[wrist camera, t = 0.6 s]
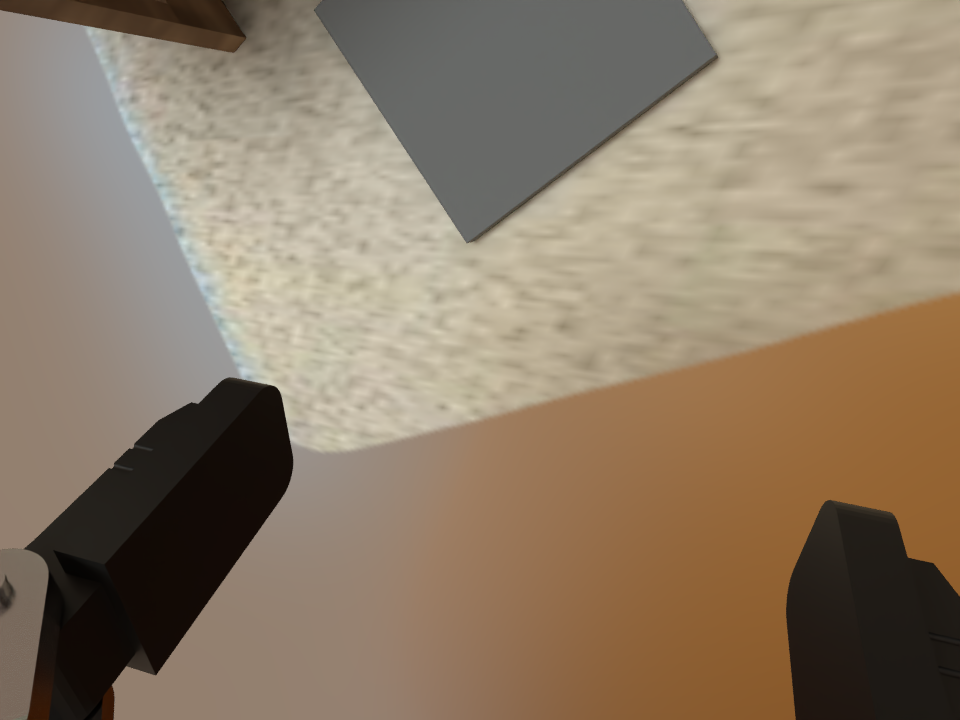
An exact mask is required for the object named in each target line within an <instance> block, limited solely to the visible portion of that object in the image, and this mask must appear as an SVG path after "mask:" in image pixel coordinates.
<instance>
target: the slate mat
mask: <svg viewBox="0 0 960 720" xmlns="http://www.w3.org/2000/svg"><path fill="white" fill-rule="evenodd" d="M314 11H315V13H316V14H317V16H318V17H319V19H320V20H321V22H322V23H323V25H324V26H325V28H326V29H327V31H328V32H329V34H330V35H331V37H332V39H333V40H334V42H335V43H336V45H337V46H338V48H339V49H340V51H341V52H342V54H343V55H344V57H345V58H346V60H347V61H348V63H349V64H350V66H351V67H352V69H353V71H354V72H355V74H356V75H357V77H358V78H359V80H360V81H361V83H362V84H363V86H364V87H365V89H366V90H367V92H368V93H369V95H370V96H371V98H372V100H373V101H374V103H375V104H376V106H377V107H378V109H379V110H380V112H381V113H382V115H383V116H384V118H385V119H386V121H387V122H388V124H389V125H390V127H391V128H392V130H393V132H394V133H395V135H396V136H397V138H398V139H399V141H400V142H401V144H402V145H403V147H404V148H405V150H406V151H407V153H408V154H409V156H410V157H411V159H412V161H413V162H414V164H415V165H416V167H417V168H418V170H419V171H420V173H421V174H422V176H423V177H424V179H425V180H426V182H427V183H428V185H429V186H430V188H431V189H432V191H433V193H434V194H435V196H436V197H437V199H438V200H439V202H440V203H441V205H442V206H443V208H444V209H445V211H446V212H447V214H448V215H449V217H450V218H451V220H452V222H453V223H454V225H455V226H456V228H457V229H458V231H459V232H460V234H461V235H462V237H463V238H464V240H465V241H466V243H469V242H472V241H475V240H476V239H477V238H479V237H480V236H481V235H483V234H484V233H485V232H487V231H488V230H489V229H491V228H492V227H493V226H495V225H496V224H497V223H498V222H500V221H501V220H502V219H504V218H505V217H506V216H508V215H509V214H510V213H512V212H513V211H514V210H516V209H517V208H518V207H520V206H521V205H522V204H524V203H525V202H526V201H528V200H529V199H530V198H532V197H533V196H534V195H536V194H537V193H538V192H540V191H541V190H542V189H544V188H545V187H546V186H548V185H549V184H550V183H552V182H553V181H554V180H556V179H557V178H558V177H560V176H561V175H562V174H563V173H565V172H566V171H567V170H569V169H570V168H571V167H573V166H574V165H575V164H577V163H578V162H579V161H581V160H582V159H583V158H585V157H586V156H587V155H589V154H590V153H591V152H593V151H594V150H595V149H597V148H598V147H599V146H601V145H602V144H603V143H605V142H606V141H607V140H609V139H610V138H611V137H613V136H614V135H615V134H617V133H618V132H619V131H621V130H622V129H623V128H625V127H626V126H627V125H629V124H630V123H631V122H632V121H634V120H635V119H636V118H638V117H639V116H640V115H642V114H643V113H644V112H646V111H647V110H648V109H650V108H651V107H652V106H654V105H655V104H656V103H658V102H659V101H660V100H662V99H663V98H664V97H666V96H667V95H668V94H670V93H671V92H672V91H674V90H675V89H676V88H678V87H679V86H680V85H682V84H683V83H684V82H686V81H687V80H688V79H690V78H691V77H692V76H694V75H695V74H696V73H698V72H699V71H700V70H701V69H703V68H704V67H705V66H707V65H708V64H709V63H711V62H712V61H713V60H715V59H716V58H717V57H718V56H717V54H716V53H715V51H714V50H713V48H712V47H711V45H710V44H709V42H708V40H707V39H706V37H705V36H704V34H703V33H702V31H701V30H700V28H699V26H698V25H697V23H696V22H695V20H694V19H693V17H692V15H691V14H690V12H689V11H688V9H687V8H686V6H685V5H684V3H683V1H682V0H322V1H321V2H320V4H319V5H318V6H317V7H316V8H315V9H314Z"/></svg>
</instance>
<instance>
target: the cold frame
mask: <svg viewBox="0 0 960 720" xmlns="http://www.w3.org/2000/svg"><path fill="white" fill-rule="evenodd" d="M0 10H3V11H8V12H13V13H19V14H24V15H30V16H35V17H41V18H46V19H52V20H57V21H63V22H68V23H74V24H79V25H85V26H90V27H95V28H101V29H106V30H112V31H117V32H123V33H128V34H134V35H139V36H145V37H150V38H156V39H161V40H167V41H172V42H178V43H183V44H189V45H194V46H200V47H205V48H211V49H216V50H222V51H227V52H233V53H234V52H235V51H236V49H237V48H238V47H239V46H240V45H241V44H242V42H243V41H244V40H245V39H246V37H245V36H244V34H243V33H242V31H241V30H240V28H239V27H238V25H237V23H236V22H235V20H234V19H233V17H232V16H231V14H230V13H229V11H228V10H227V8H226V7H225V5H224V4H223V2H222V1H221V0H0Z"/></svg>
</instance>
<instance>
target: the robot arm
mask: <svg viewBox="0 0 960 720" xmlns="http://www.w3.org/2000/svg"><path fill="white" fill-rule="evenodd" d="M292 470H293V454H292V449H291V444H290V438H289V433H288V428H287V423H286V417H285V412H284V407H283V402H282V397H281V394H280V391H279V390H278V389H277V388H276V387H275V386H272V385H267V384H262V383H257V382H252V381H247V380H242V379H237V378H226V379H224V380H222V381H221V382H220V383H219V384H218V385H217V386H216V387H215V388H214V389H213V390H212V391H211V392H210V393H209V394H208V395H207V396H206V397H205V398H204V399H203V400H202V401H201V402H200V403H199V404H196V403H192V402H191V403H189V404H187V405H186V406H184V407H182V408H180V409H178V410H176V411H175V412H173V413H171V414H169V415H167V416H166V417H164V418H162V419H160V420H158V422H156V423H155V424H154V425H153V426H152V427H151V428H150V429H149V430H148V431H147V432H146V433H145V434H144V435H143V436H142V437H141V438H140V439H139V440H138V441H137V442H136V443H135V444H134V448H133V449H128V450H127V451H126V452H125V453H124V454H123V455H122V456H121V457H120V458H119V459H118V460H117V461H116V462H115V463H114V467H113V468H112V469H110V468H109V469H107V470H106V471H105V472H104V473H103V474H102V475H101V476H100V477H99V478H98V479H97V480H96V481H95V482H94V483H93V484H92V485H91V486H90V487H89V488H88V489H87V490H86V491H85V492H84V493H83V494H82V495H80V496H79V497H78V498H77V499H76V500H75V501H74V502H73V503H72V504H71V505H70V506H69V507H68V508H67V509H66V510H65V511H64V512H63V513H62V514H61V515H60V516H59V517H58V518H57V519H56V520H54V521H53V522H52V523H51V524H50V525H49V526H48V527H47V528H46V529H45V530H44V531H43V532H42V533H41V534H40V535H39V536H38V537H37V538H36V539H35V540H34V541H33V542H31V543H30V544H29V545H28V546H27V547H26V548H25V549H2V550H0V720H114V701H115V697H114V690H113V687H112V684H113V683H114V681H115V680H116V679H117V677H118V676H119V675H120V673H121V672H122V671H123V670H124V668H125V667H126V666H128V667H131V668H134V669H138V670H140V671H144V672H147V673H150V674H153V675H157V673H158V671H159V670H160V669H161V667H162V666H163V665H164V663H165V662H166V660H167V659H168V658H169V656H170V655H171V653H172V652H173V651H174V649H175V648H176V646H177V645H178V644H179V642H180V641H181V639H182V638H183V637H184V635H185V634H186V632H187V631H188V629H189V628H190V627H191V625H192V624H193V622H194V621H195V619H196V618H197V617H198V615H199V614H200V613H201V611H202V609H203V608H204V607H205V605H206V604H207V603H208V601H209V600H210V598H211V597H212V596H213V594H214V593H215V591H216V590H217V589H218V587H219V586H220V584H221V583H222V581H223V580H224V579H225V577H226V576H227V574H228V573H229V572H230V570H231V569H232V567H233V566H234V565H235V563H236V562H237V560H238V559H239V558H240V556H241V555H242V553H243V552H244V550H245V549H246V548H247V546H248V545H249V543H250V542H251V541H252V539H253V538H254V536H255V535H256V534H257V532H258V531H259V529H260V528H261V526H262V525H263V524H264V522H265V521H266V519H267V518H268V516H269V515H270V514H271V512H272V511H273V509H274V508H275V507H276V505H277V504H278V502H279V501H280V500H281V498H282V497H283V495H284V494H285V492H286V490H287V488H288V485H289V482H290V479H291V476H292ZM786 618H787V629H788V640H789V651H790V662H791V672H792V683H793V694H794V705H795V716H796V720H960V596H958V594H957V593H956V592H955V590H954V589H953V588H952V586H951V585H950V584H949V582H948V581H947V580H946V579H945V577H944V576H943V575H942V574H941V572H940V571H939V570H938V568H937V567H936V566H935V565H934V564H933V563H929V562H925V561H920V560H915V559H911V558H908V557H907V554H906V550H905V547H904V543H903V540H902V536H901V532H900V529H899V525H898V522H897V520H896V518H895V516H894V515H893V514H892V513H890V512H886V511H881V510H876V509H871V508H866V507H862V506H857V505H852V504H847V503H842V502H837V501H832V500H828V501H826V502H825V503H824V504H823V506H822V507H821V509H820V511H819V514H818V516H817V518H816V520H815V523H814V525H813V527H812V530H811V532H810V534H809V536H808V538H807V541H806V543H805V545H804V547H803V550H802V552H801V554H800V557H799V559H798V561H797V563H796V566H795V568H794V570H793V573H792V576H791V579H790V583H789V588H788V594H787V607H786Z"/></svg>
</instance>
